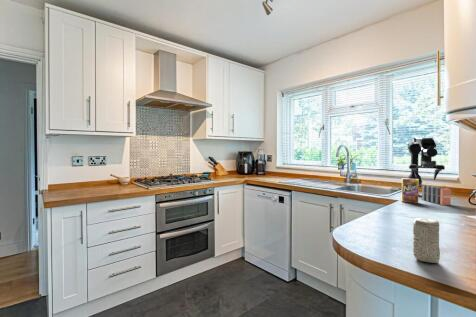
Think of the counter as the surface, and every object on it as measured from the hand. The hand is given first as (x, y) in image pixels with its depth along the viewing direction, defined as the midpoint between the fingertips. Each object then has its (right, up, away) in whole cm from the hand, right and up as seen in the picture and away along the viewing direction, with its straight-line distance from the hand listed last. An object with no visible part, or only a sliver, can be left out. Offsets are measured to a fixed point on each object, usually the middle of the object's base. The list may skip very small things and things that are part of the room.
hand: (425, 179), depth 166 cm
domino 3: (+2, -14, -6) cm, 16 cm away
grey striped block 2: (+2, -14, -2) cm, 14 cm away
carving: (-71, -16, -94) cm, 119 cm away
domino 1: (+2, -14, +2) cm, 14 cm away
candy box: (-14, -14, -5) cm, 21 cm away
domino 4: (+2, -14, -10) cm, 17 cm away
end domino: (+2, -14, -14) cm, 20 cm away
